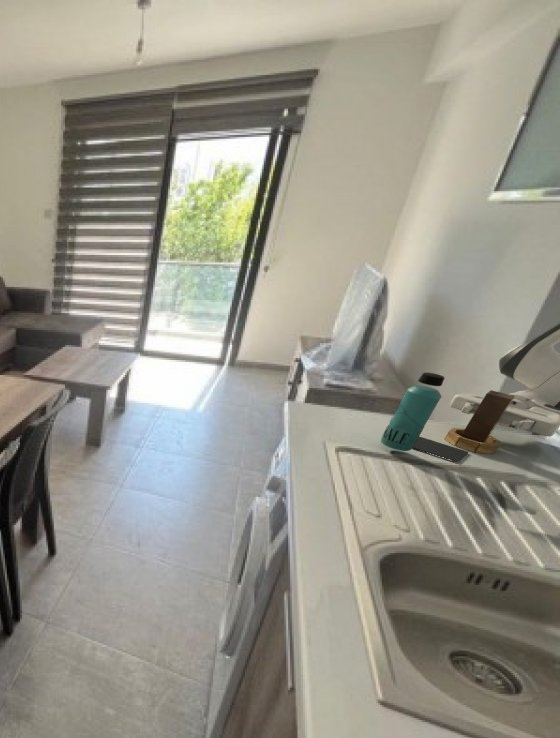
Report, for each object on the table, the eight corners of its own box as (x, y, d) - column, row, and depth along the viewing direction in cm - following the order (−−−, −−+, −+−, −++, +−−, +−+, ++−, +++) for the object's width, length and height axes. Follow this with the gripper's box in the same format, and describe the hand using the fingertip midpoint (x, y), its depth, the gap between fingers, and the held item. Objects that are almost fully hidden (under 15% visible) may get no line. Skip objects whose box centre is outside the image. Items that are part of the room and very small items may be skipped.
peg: (482, 446, 124) (515, 395, 117) (478, 450, 122) (511, 399, 115) (460, 439, 127) (490, 390, 120) (456, 443, 125) (486, 393, 118)
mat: (467, 453, 120) (468, 451, 120) (456, 463, 115) (457, 462, 114) (417, 437, 127) (418, 436, 127) (405, 446, 122) (406, 445, 121)
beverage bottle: (407, 449, 120) (449, 373, 111) (411, 459, 115) (456, 381, 106) (375, 441, 123) (413, 367, 114) (378, 451, 118) (418, 375, 109)
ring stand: (498, 447, 123) (503, 439, 122) (489, 457, 118) (495, 448, 117) (450, 433, 130) (455, 425, 129) (440, 441, 125) (446, 433, 124)
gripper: (470, 385, 133) (445, 391, 128) (576, 413, 117) (553, 422, 112) (458, 406, 136) (433, 413, 131) (560, 436, 120) (536, 445, 115)
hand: (489, 417), depth 121 cm, fingers open, 8 cm apart
